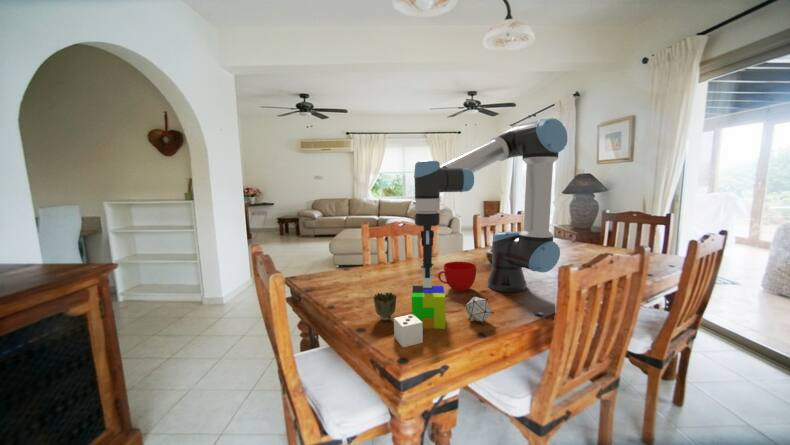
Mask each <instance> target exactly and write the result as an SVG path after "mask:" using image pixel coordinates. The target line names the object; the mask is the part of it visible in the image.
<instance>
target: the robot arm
mask: <svg viewBox="0 0 790 445" xmlns="http://www.w3.org/2000/svg"><path fill="white" fill-rule="evenodd" d="M567 143H568V132H567V129H566V126H565V125H564V124H563V122H562V121H560V120H559V119H558V118H553V117H550V118H544V119H539V120H536V121H531V122H528V123H523V124H518V125H516V126H514V127H512V128H510V129H508V130H506V131H504V132H501V134H498V135H496V136H494V137H493V138H491V139H490V141H489V142H488V143H486V144H484V145H482V146H480V147H477V148H475V149H473V150H471V151H469V152H467V153H465V154H463V155H461V156H458V157H457V158H456V157H455V158H454V159H452V160H450V161H448V162H446V163H443V164H440V162H439V161H438V160H420V161H417V162H416V163H415V164H414V174H413V178H414V201H412V205H414V211H415V212H416V213H415V214H414V224H415V226H419V227H423V230H420V239H421V246H422V247H423V248H422V250H423V251H422V255H423V258H422V264H421V265H420V268H422V286H423V288H432V286H433V283H432V282H433V277H432V276H433V272H432V270H433V269H432V268H433V266H435V265H434V262H433V258H432V257H433V255H432V254H433V253H432V250H433V245H434V236H435V232H434V230H432V227H436V226H439V225H440V213H439V212H440V211H441V208H440V206H441V203H440V202H441V201H440V199H441V198H440V193H464V192H466V193H467V192H469V191H471V190H472V189H473V187H474V184H475V174H474V173H475V172H477V171H480V170H482V169H484V168H486V167H487V166H490V165H491V164H493V163H496V162H497V161H499V162H504V161H505V160H508V159H510V158H517V157H521V158H522V161H523V162H524V163H525V164H526V171H525V172H526V173H525V192H524V193H525V194H524V212H523V213H524V214H523V227H522V228H523V229H522V230H521V231H512V230H511V231H503V232H502V231H501V232H500V231H499V232H495V233H493V235H492V243H491V244H492V245H491V246H492V247H491V248H492V250H491V251H492V252H491V253H492V254H491V256H492V261H491V262H492V264H491V265H492V266H491V270H490V273H489V277H488V278H487V286H488V287H489V288H490V289H491V290H494V291H497V292H504V293H520V292H523V291H526V289H527V280H525V275H524V271H523V269H527V270H530V271H532V272H538V273H542V274H543V273H547V272H549V271H552V270H553V269H554V268H555V267H556V266H557V264H558V262H559V260H560V258H561V257H560V256H561V248H560V247H559V244H558V243H556V242H555V241H554V234H553V233H552V232H551V231H550V221H551V220H550V219H551V203H552V202H551V201H552V188H553V187H552V184H553V172H554V171H553V170H554V168H553V167H554V164H555V162H556V161H557V160H558V159H559V154H560V153H561V152H562V151H564V149H565V148H566V146H567V145H568V144H567Z"/></svg>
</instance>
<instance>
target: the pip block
mask: <svg viewBox="0 0 790 445" xmlns="http://www.w3.org/2000/svg"><path fill="white" fill-rule="evenodd" d="M393 331H394V334H393V337H394V339H395V340H396V341H397V342H398V344H400V346H401V347H402V348H407V347H411V346H415V345H417V344H422V343H424V341H423V339H424V337H423V336H424V335H423V333H424V332H423V331H424V328H422V321H420V320H419V319H418V318H417V317H416V316H415V315H413V314H412V313H409V314H406V315H402V316H397V317H394V318H393Z"/></svg>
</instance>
